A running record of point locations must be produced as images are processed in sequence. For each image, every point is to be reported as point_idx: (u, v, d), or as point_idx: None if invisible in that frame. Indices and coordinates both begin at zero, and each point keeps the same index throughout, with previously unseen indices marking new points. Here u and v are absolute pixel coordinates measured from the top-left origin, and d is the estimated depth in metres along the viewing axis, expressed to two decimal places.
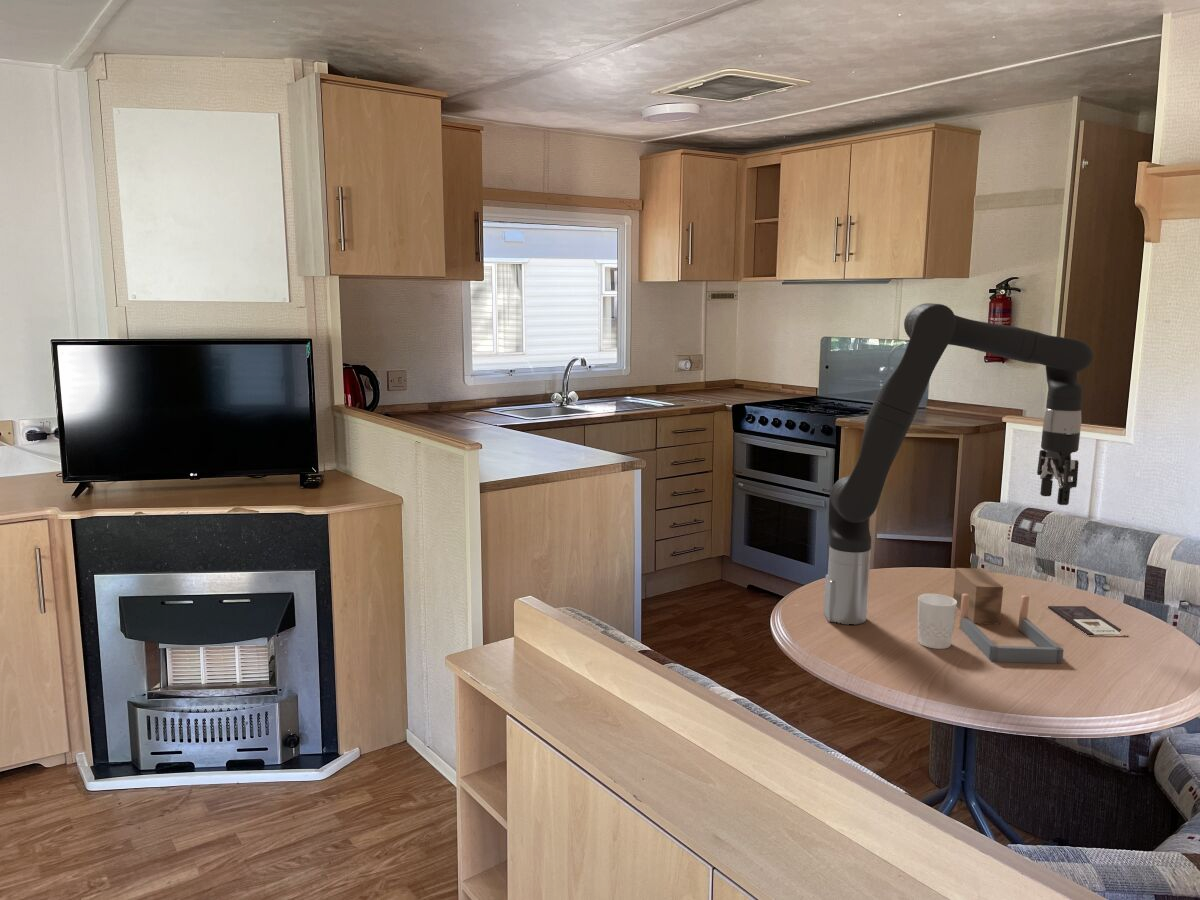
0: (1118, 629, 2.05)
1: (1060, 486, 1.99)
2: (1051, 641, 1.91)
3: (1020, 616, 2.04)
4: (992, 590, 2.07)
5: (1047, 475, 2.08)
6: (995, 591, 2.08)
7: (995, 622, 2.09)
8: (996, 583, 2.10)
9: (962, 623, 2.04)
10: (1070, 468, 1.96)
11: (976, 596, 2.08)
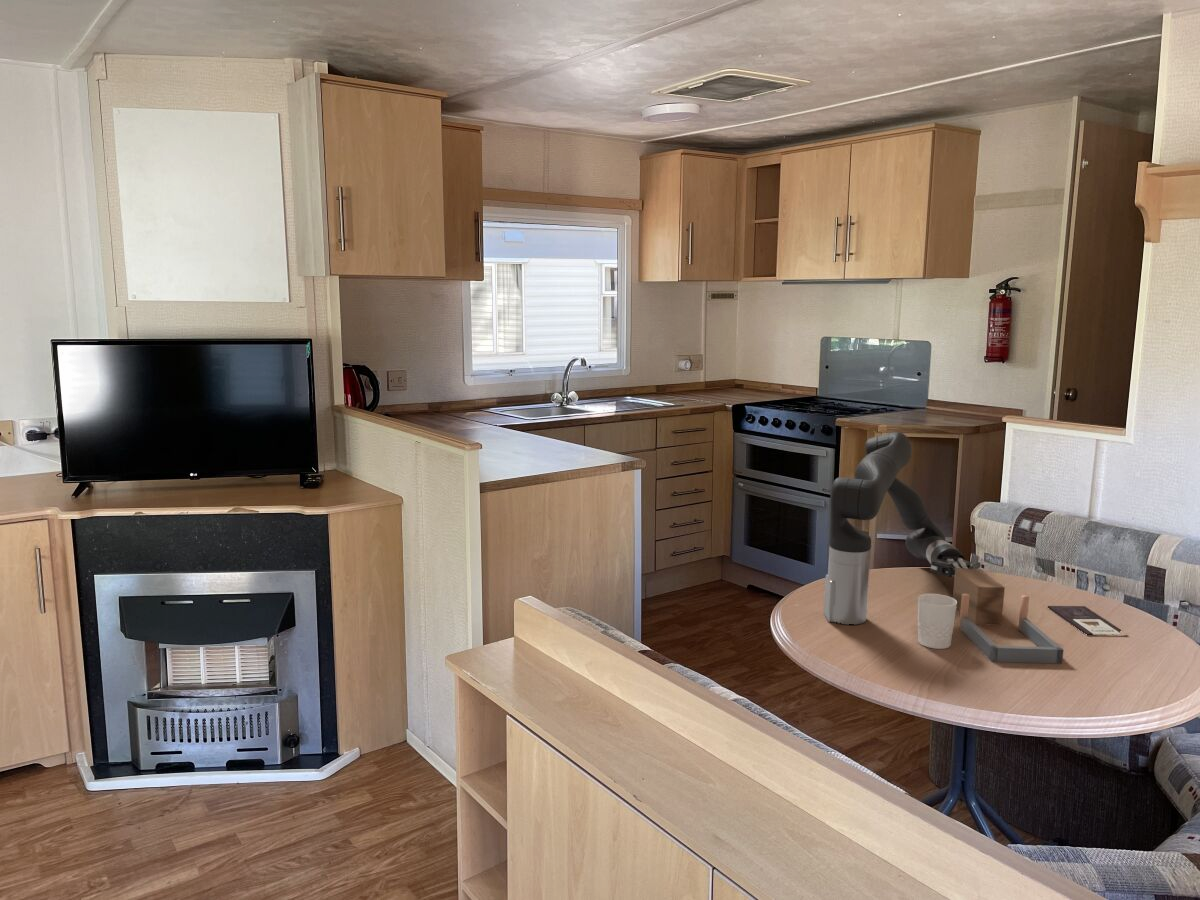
0: (1117, 629, 2.05)
1: None
2: (1051, 641, 1.91)
3: (1020, 616, 2.04)
4: (994, 590, 2.07)
5: None
6: (997, 591, 2.07)
7: (997, 622, 2.08)
8: (997, 583, 2.09)
9: (962, 623, 2.04)
10: (978, 567, 2.28)
11: (978, 597, 2.07)
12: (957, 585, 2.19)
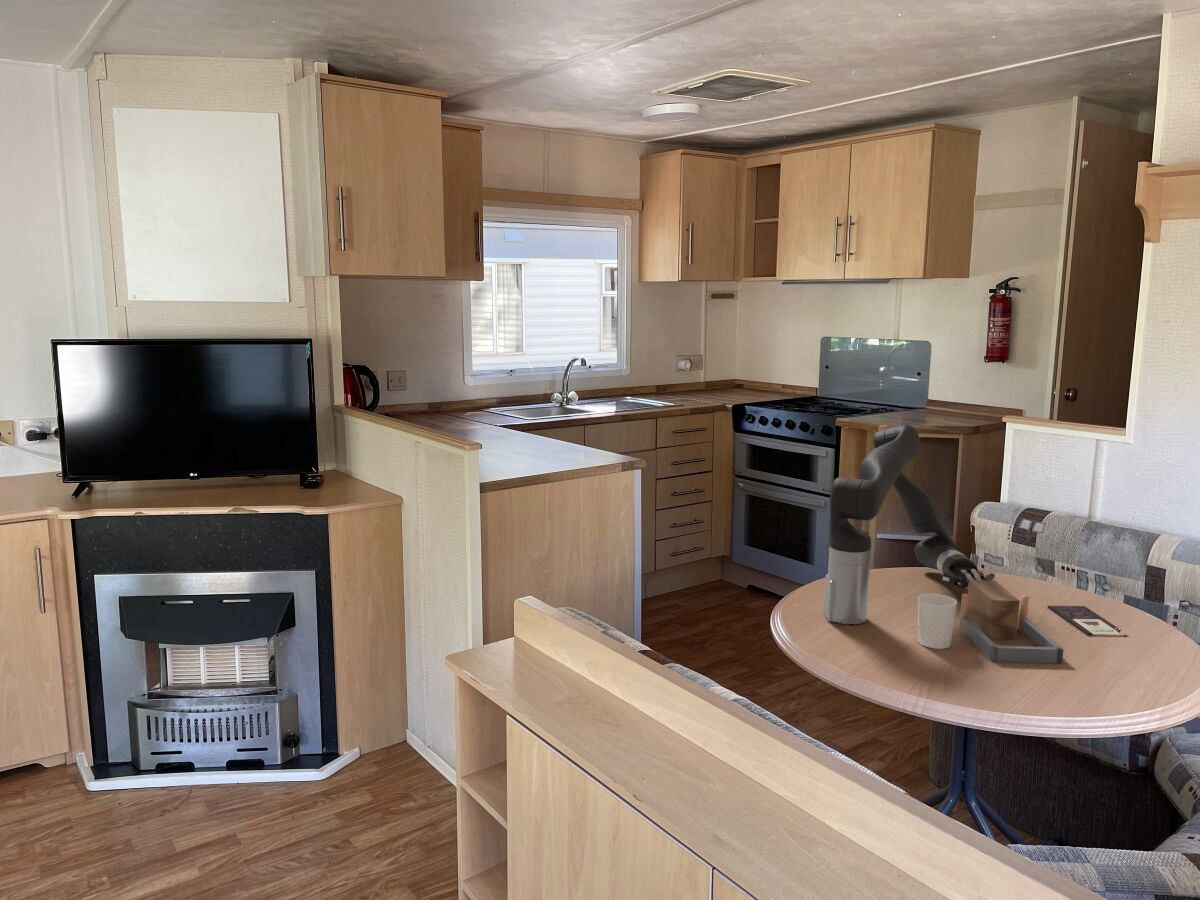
0: (1117, 629, 2.05)
1: (980, 579, 2.16)
2: (1051, 641, 1.91)
3: (1020, 616, 2.04)
4: (1008, 604, 1.98)
5: None
6: (1011, 605, 1.98)
7: (1011, 637, 1.99)
8: (1012, 596, 2.00)
9: (962, 623, 2.04)
10: (992, 579, 2.19)
11: (991, 610, 1.98)
12: (971, 597, 2.10)
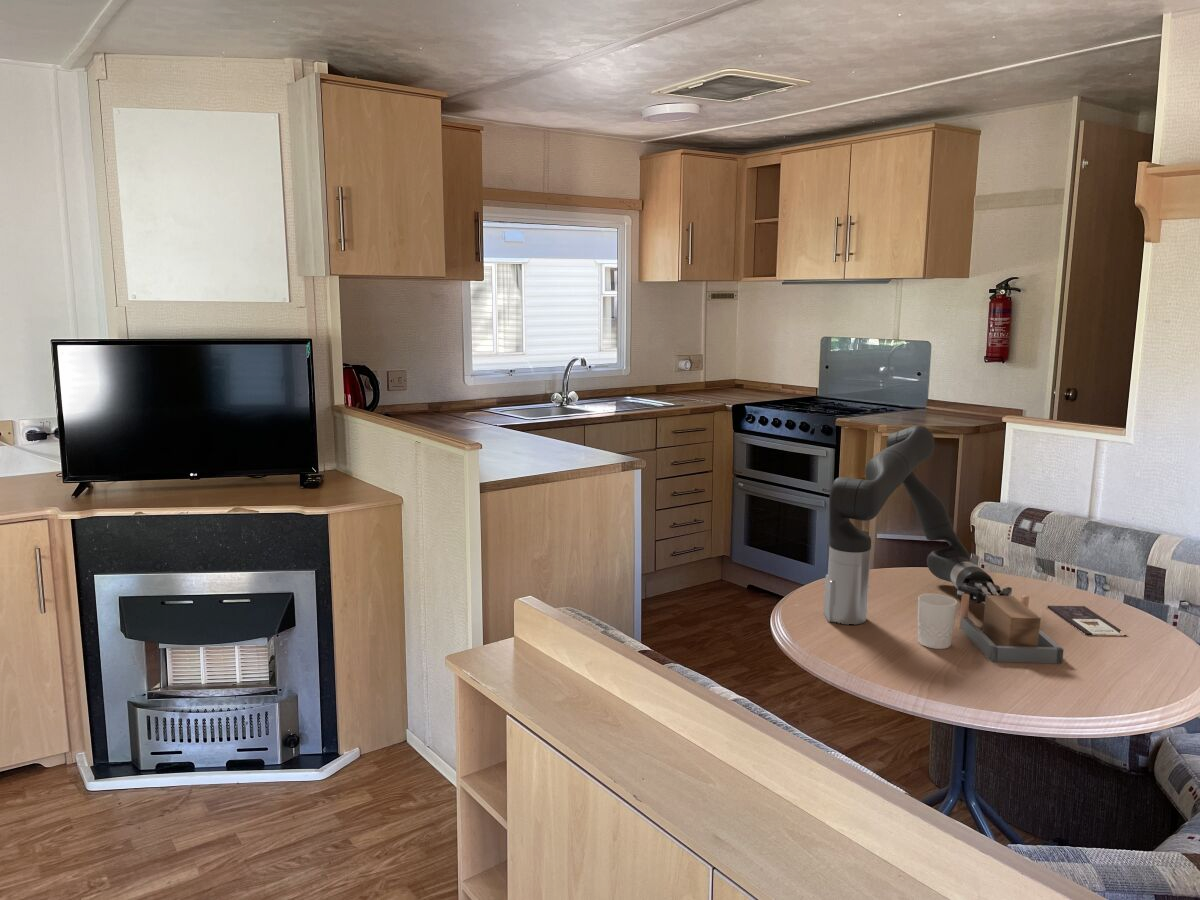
0: (1117, 629, 2.05)
1: (996, 594, 2.06)
2: (1051, 641, 1.91)
3: None
4: (1028, 621, 1.88)
5: None
6: (1031, 623, 1.88)
7: None
8: (1032, 614, 1.90)
9: (962, 623, 2.04)
10: (1009, 593, 2.09)
11: (1010, 628, 1.88)
12: (988, 614, 2.00)
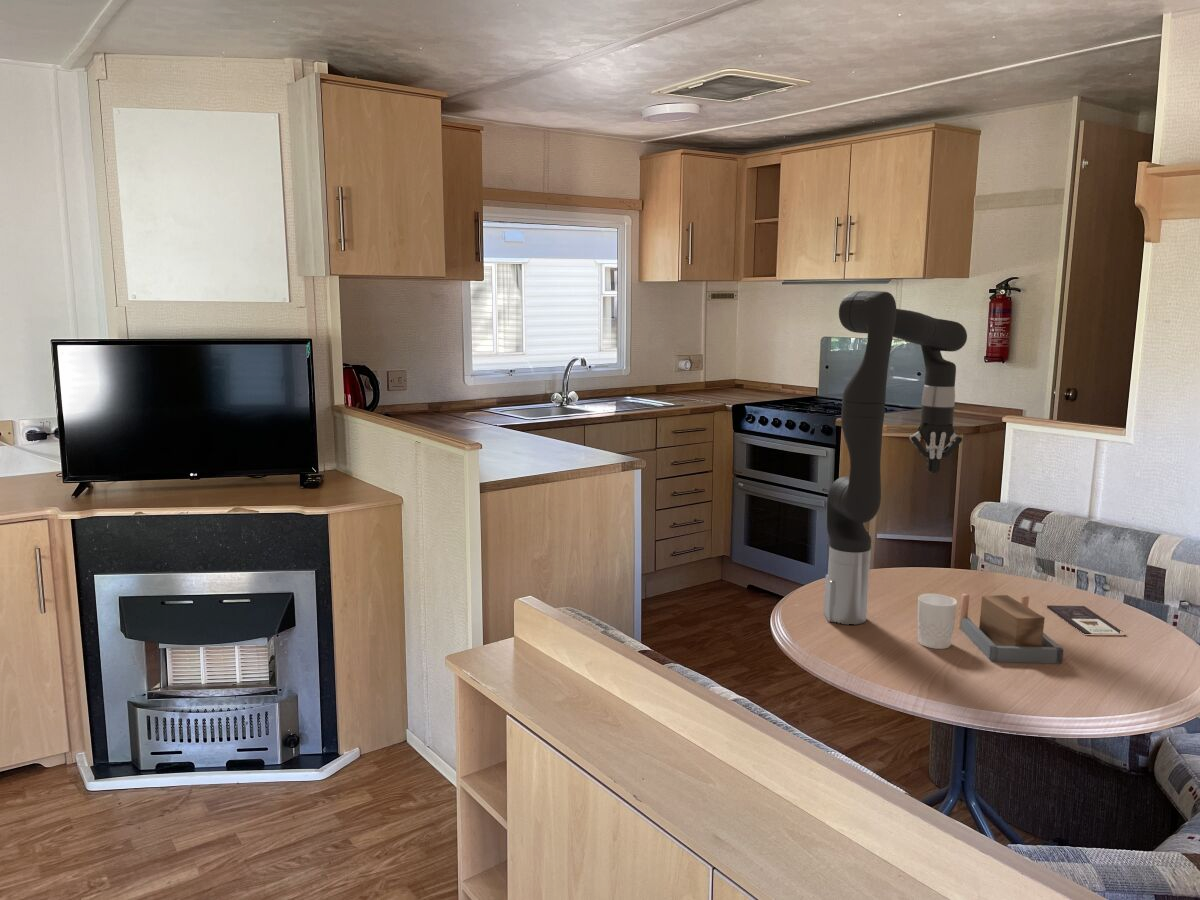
0: (1116, 629, 2.05)
1: (939, 457, 2.22)
2: (1051, 641, 1.91)
3: None
4: (1033, 621, 1.88)
5: None
6: (1036, 622, 1.88)
7: None
8: (1035, 613, 1.90)
9: (962, 623, 2.04)
10: None
11: (1016, 629, 1.88)
12: (985, 614, 2.00)
